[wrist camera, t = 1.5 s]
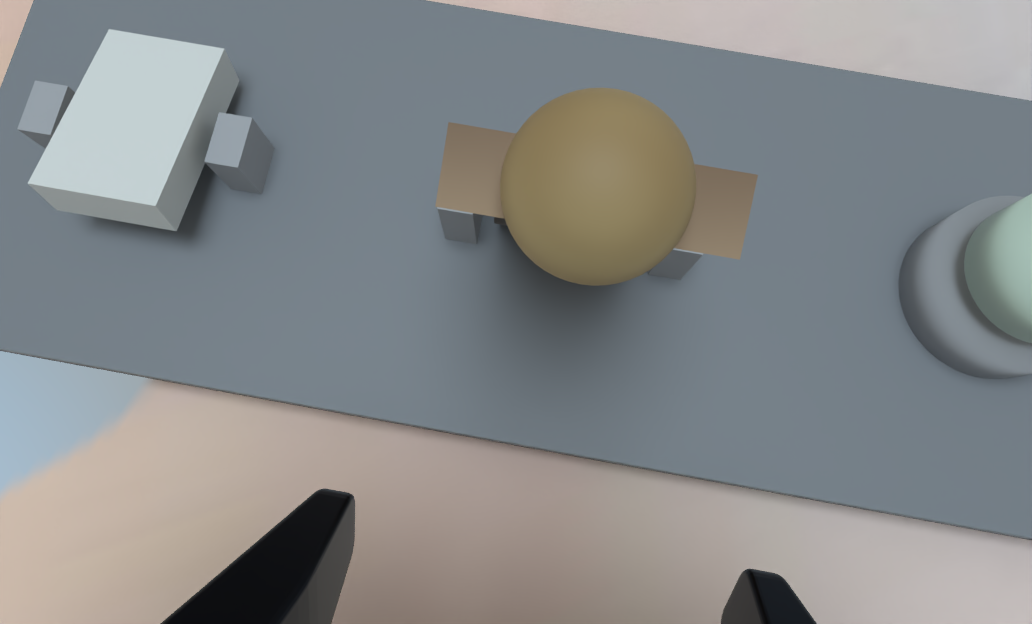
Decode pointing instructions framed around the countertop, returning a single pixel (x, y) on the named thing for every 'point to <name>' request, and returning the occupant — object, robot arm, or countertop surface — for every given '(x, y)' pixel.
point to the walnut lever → (596, 187)
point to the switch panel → (528, 288)
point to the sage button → (1003, 268)
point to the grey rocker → (137, 130)
